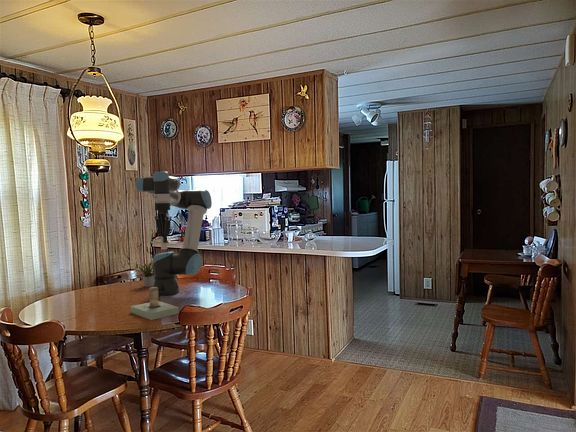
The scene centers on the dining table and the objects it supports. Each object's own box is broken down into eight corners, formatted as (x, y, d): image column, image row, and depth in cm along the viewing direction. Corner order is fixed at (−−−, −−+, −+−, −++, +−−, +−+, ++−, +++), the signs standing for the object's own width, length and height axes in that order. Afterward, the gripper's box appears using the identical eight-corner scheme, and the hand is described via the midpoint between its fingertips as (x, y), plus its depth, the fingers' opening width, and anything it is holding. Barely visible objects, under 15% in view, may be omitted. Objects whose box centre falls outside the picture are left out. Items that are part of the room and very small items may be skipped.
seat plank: (130, 312, 211) (130, 306, 211) (157, 306, 221) (157, 300, 221) (151, 320, 197) (150, 313, 197) (178, 313, 207) (178, 307, 207)
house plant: (159, 282, 285) (158, 257, 284) (165, 285, 273) (164, 259, 272) (136, 285, 278) (135, 259, 277) (141, 288, 266) (140, 261, 265)
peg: (148, 313, 209) (147, 287, 208) (156, 311, 212) (155, 286, 211) (152, 314, 206) (151, 289, 206) (160, 312, 209) (159, 287, 208)
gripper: (149, 202, 224) (151, 249, 225) (162, 202, 215) (164, 250, 216) (162, 202, 229) (164, 247, 231) (175, 202, 220) (177, 249, 221)
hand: (164, 249), depth 223 cm, fingers closed
